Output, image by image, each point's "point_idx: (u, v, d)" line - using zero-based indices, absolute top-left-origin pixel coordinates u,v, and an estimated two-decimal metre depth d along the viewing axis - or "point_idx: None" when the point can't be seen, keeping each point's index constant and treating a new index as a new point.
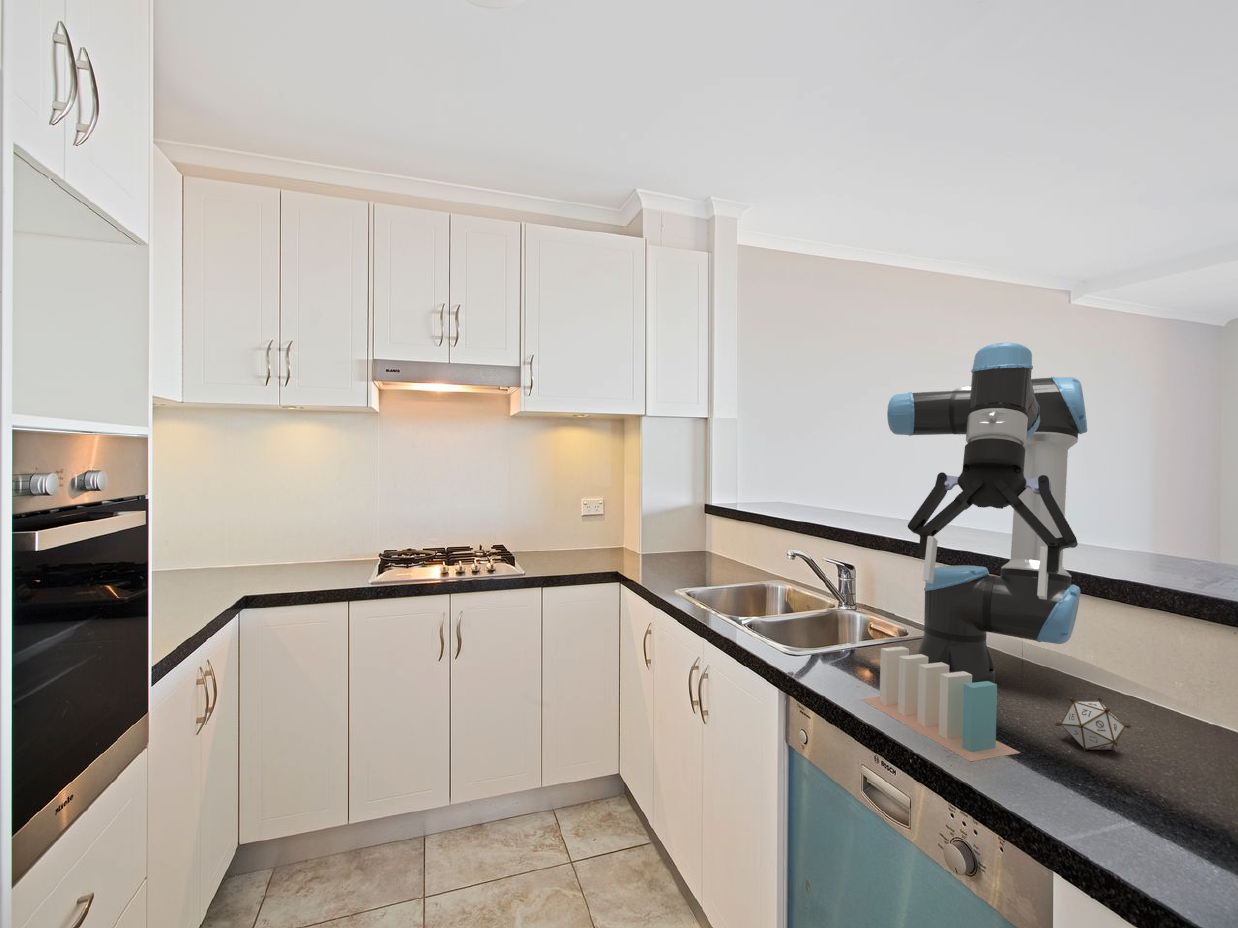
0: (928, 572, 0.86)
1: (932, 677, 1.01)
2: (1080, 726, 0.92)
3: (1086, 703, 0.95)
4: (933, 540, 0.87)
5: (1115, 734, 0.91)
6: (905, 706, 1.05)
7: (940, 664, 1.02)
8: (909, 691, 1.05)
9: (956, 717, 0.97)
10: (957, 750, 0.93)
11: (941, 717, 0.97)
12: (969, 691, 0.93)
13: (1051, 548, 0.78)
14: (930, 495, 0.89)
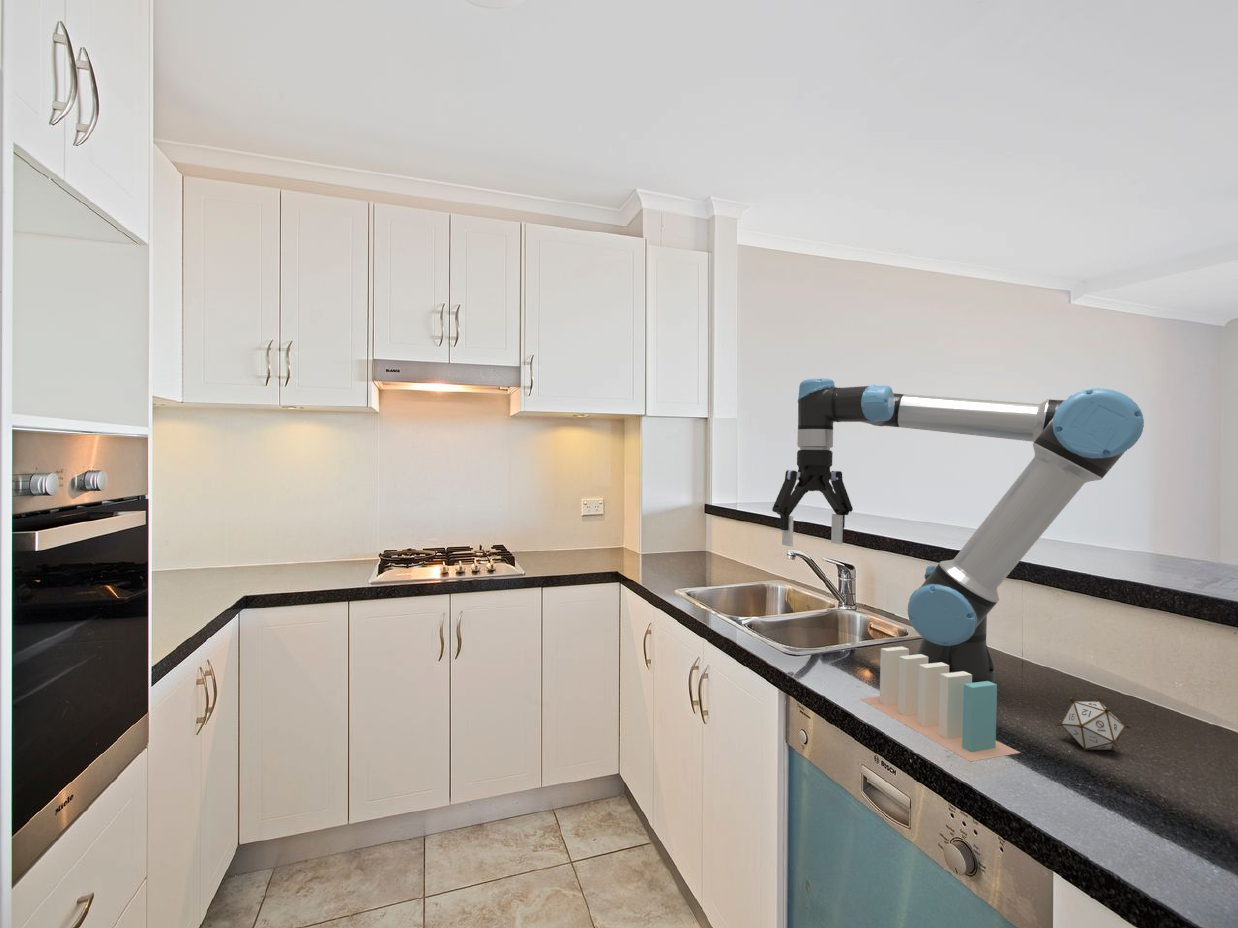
0: (831, 537, 1.37)
1: (932, 677, 1.01)
2: (1080, 726, 0.92)
3: (1086, 703, 0.95)
4: (833, 516, 1.36)
5: (1115, 734, 0.91)
6: (905, 706, 1.05)
7: (940, 664, 1.02)
8: (909, 691, 1.05)
9: (956, 717, 0.97)
10: (957, 750, 0.93)
11: (941, 717, 0.97)
12: (969, 691, 0.93)
13: None
14: None
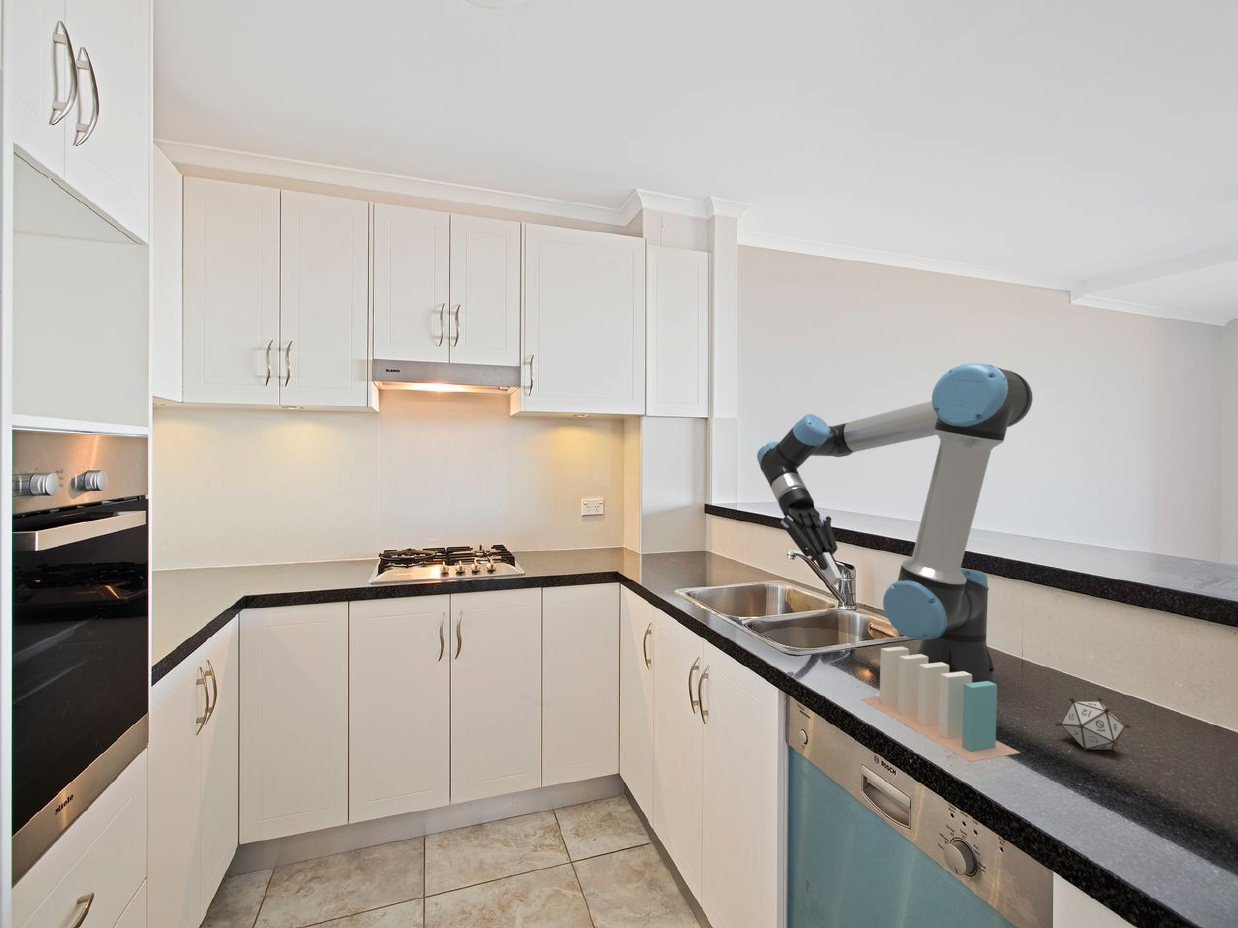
0: None
1: (932, 677, 1.01)
2: (1080, 726, 0.92)
3: (1086, 703, 0.95)
4: None
5: (1114, 734, 0.91)
6: (905, 706, 1.05)
7: (940, 664, 1.02)
8: (909, 691, 1.05)
9: (956, 717, 0.97)
10: (957, 750, 0.93)
11: (941, 717, 0.97)
12: (969, 691, 0.93)
13: None
14: None
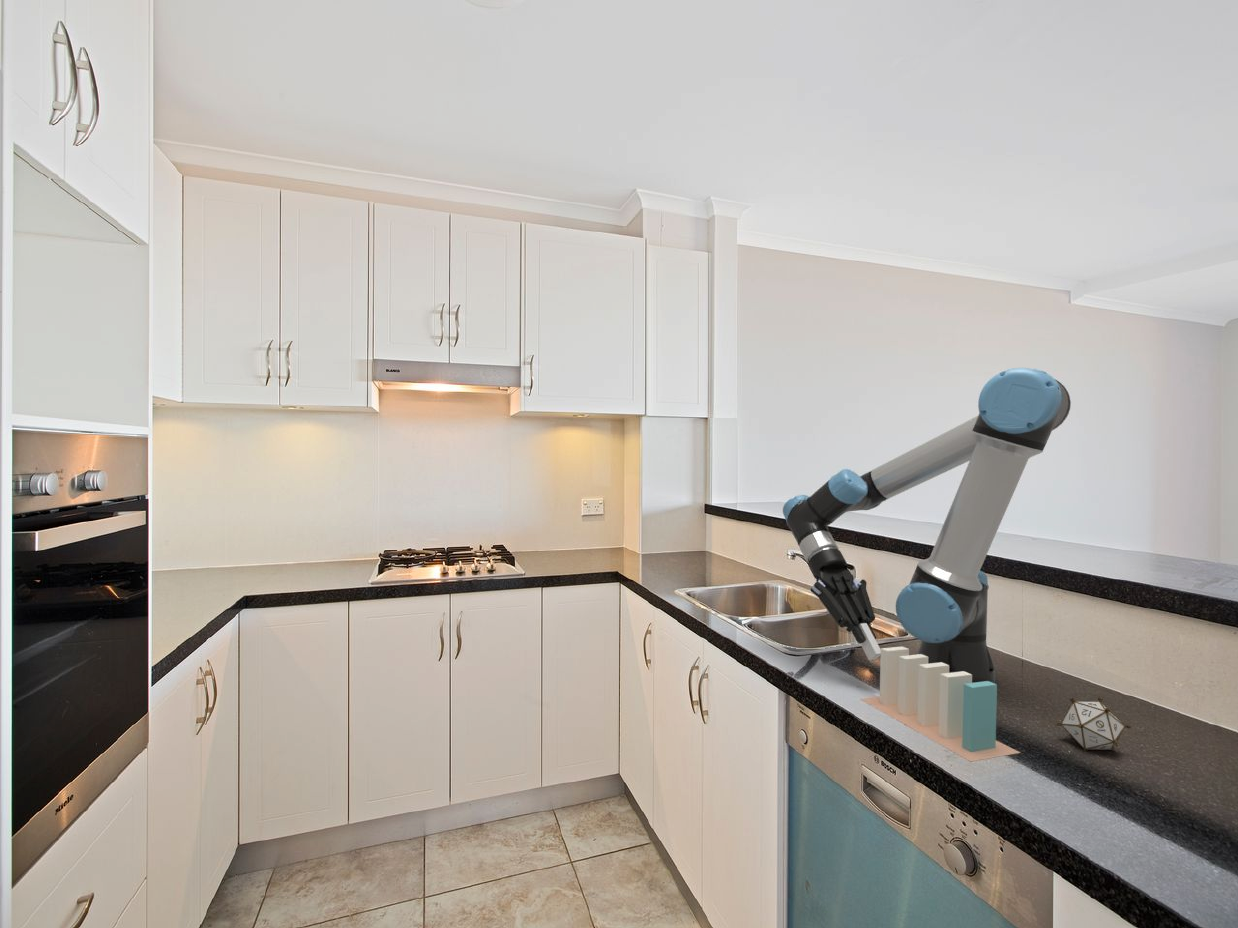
0: None
1: (932, 677, 1.01)
2: (1080, 726, 0.92)
3: (1086, 703, 0.95)
4: None
5: (1115, 734, 0.91)
6: (905, 706, 1.05)
7: (940, 664, 1.02)
8: (909, 691, 1.05)
9: (956, 717, 0.97)
10: (957, 750, 0.93)
11: (941, 717, 0.97)
12: (969, 691, 0.93)
13: None
14: None
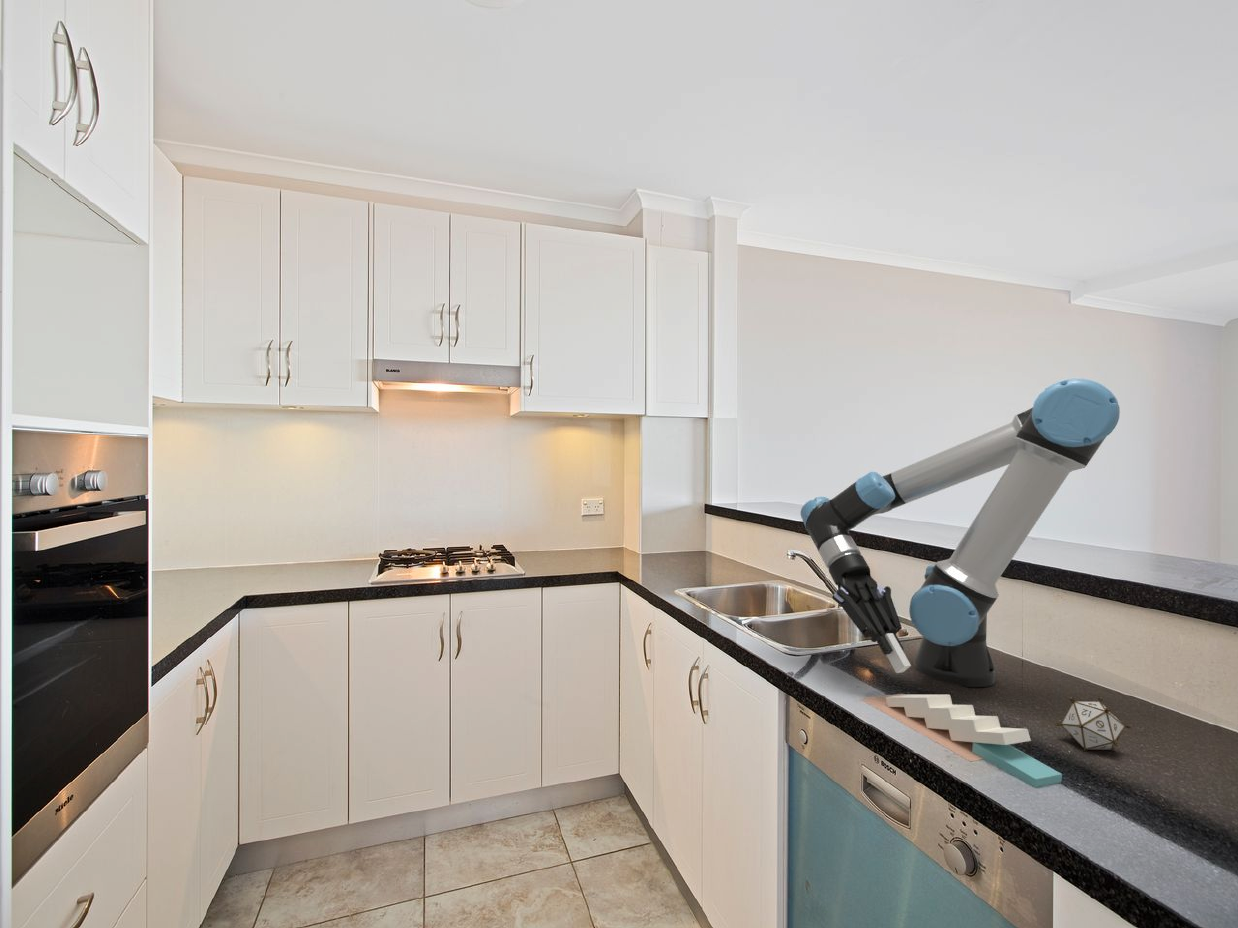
0: None
1: None
2: (1080, 726, 0.92)
3: (1086, 703, 0.95)
4: None
5: (1115, 734, 0.91)
6: (914, 716, 1.03)
7: (993, 722, 0.93)
8: None
9: None
10: (957, 750, 0.93)
11: (964, 733, 0.93)
12: (1029, 783, 0.83)
13: None
14: None
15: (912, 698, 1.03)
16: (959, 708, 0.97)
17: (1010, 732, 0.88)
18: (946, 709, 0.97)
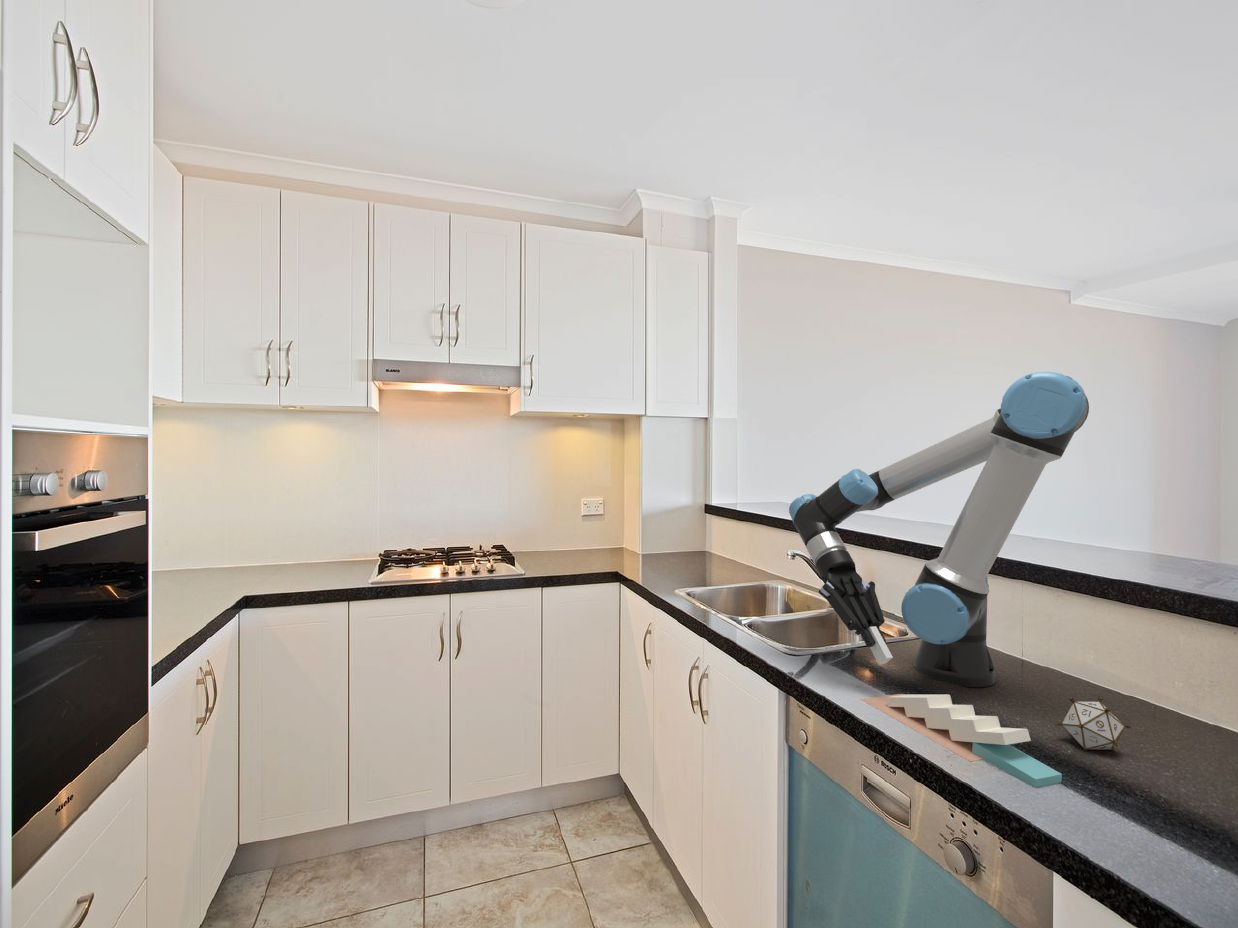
0: None
1: None
2: (1080, 726, 0.92)
3: (1086, 703, 0.95)
4: None
5: (1115, 734, 0.91)
6: (914, 716, 1.03)
7: (993, 722, 0.93)
8: None
9: None
10: (957, 750, 0.93)
11: (964, 733, 0.93)
12: (1029, 783, 0.83)
13: None
14: None
15: (912, 698, 1.03)
16: (959, 708, 0.97)
17: (1010, 732, 0.88)
18: (946, 709, 0.97)
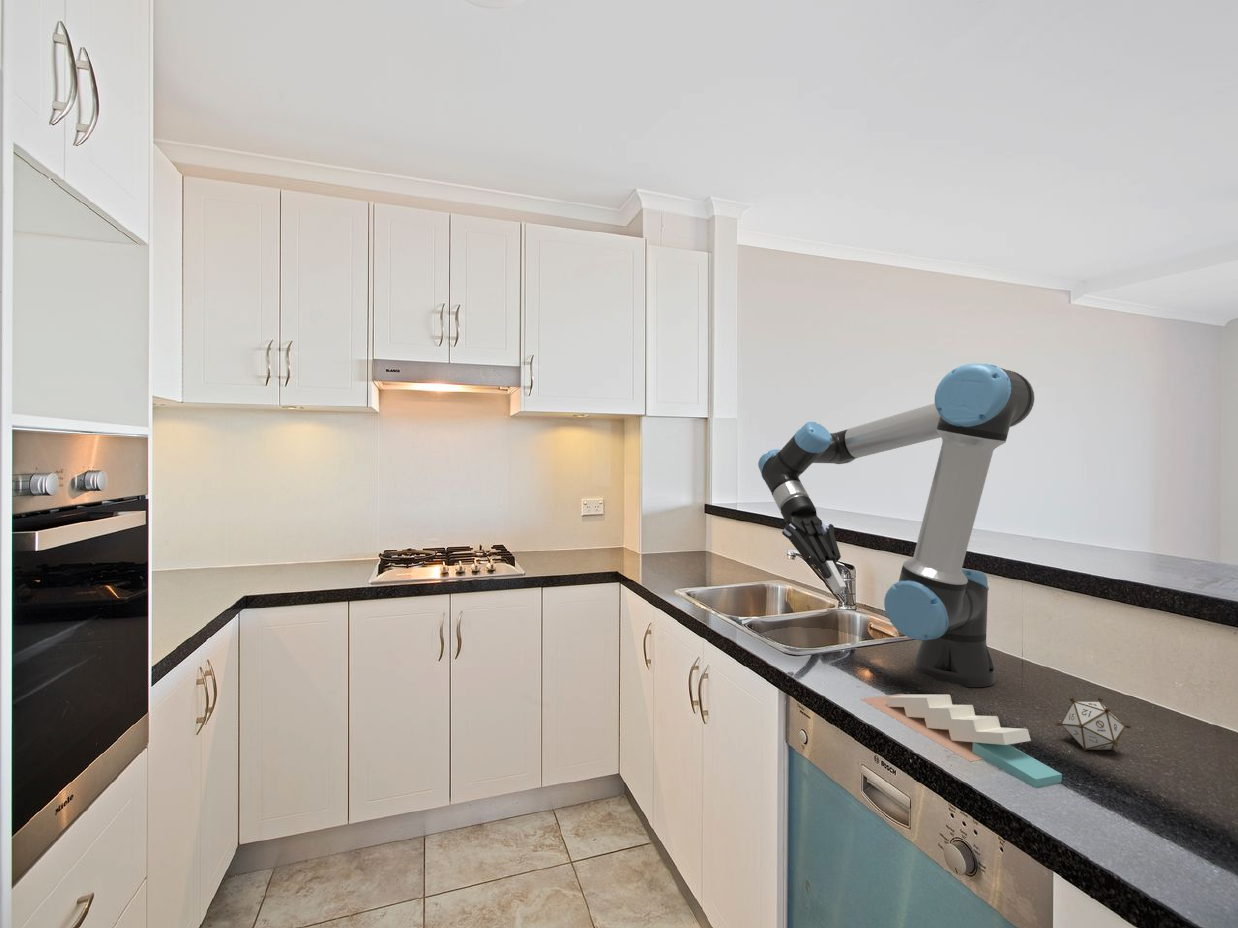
0: None
1: None
2: (1080, 726, 0.92)
3: (1086, 703, 0.95)
4: None
5: (1115, 734, 0.91)
6: (914, 716, 1.03)
7: (993, 722, 0.93)
8: None
9: None
10: (957, 750, 0.93)
11: (964, 733, 0.93)
12: (1029, 783, 0.83)
13: None
14: None
15: (912, 698, 1.03)
16: (959, 708, 0.97)
17: (1010, 732, 0.88)
18: (946, 709, 0.97)
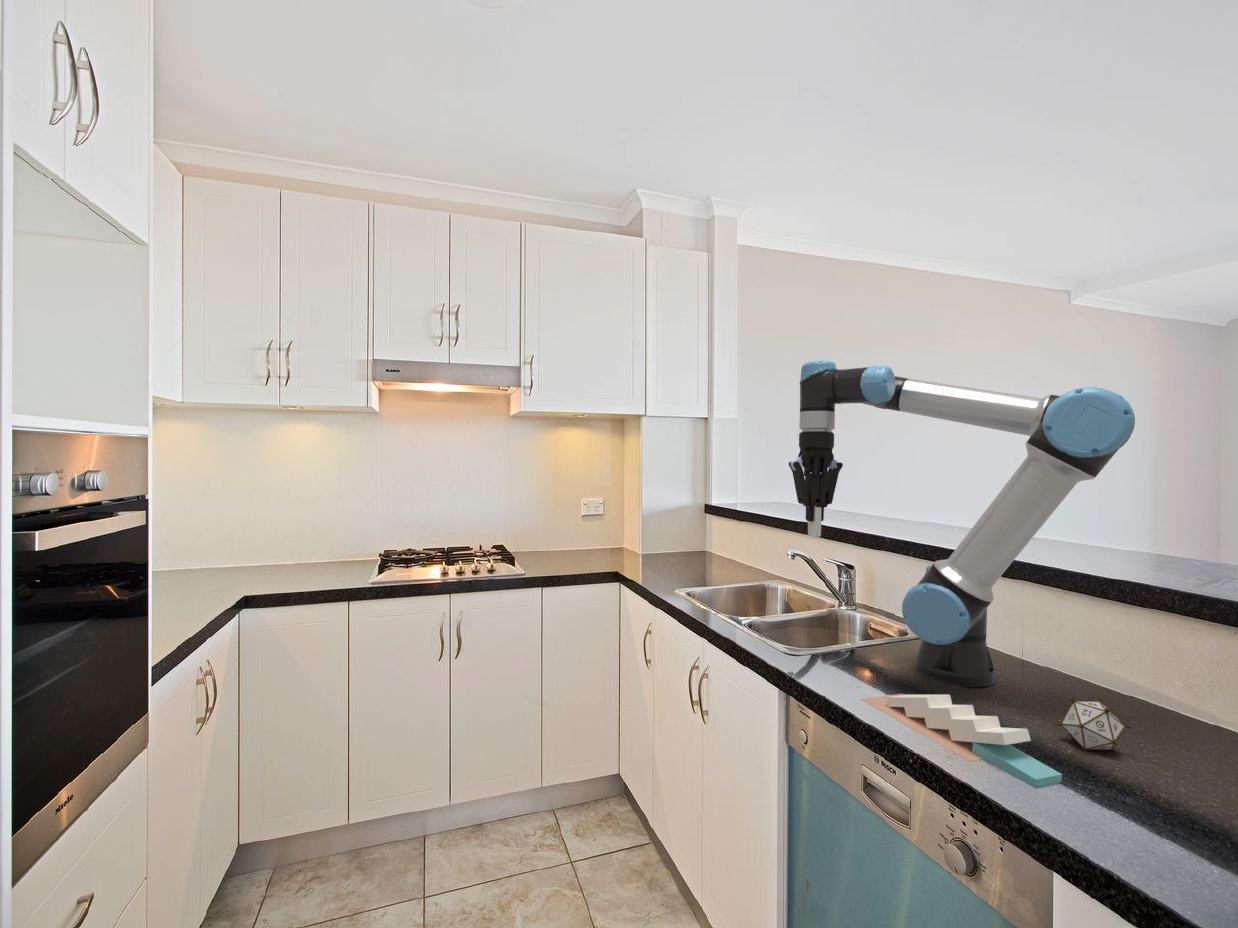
0: None
1: None
2: (1080, 726, 0.92)
3: (1086, 703, 0.95)
4: None
5: (1115, 734, 0.91)
6: (914, 716, 1.03)
7: (993, 722, 0.93)
8: None
9: None
10: (957, 750, 0.93)
11: (964, 733, 0.93)
12: (1029, 783, 0.83)
13: None
14: None
15: (912, 698, 1.03)
16: (959, 708, 0.97)
17: (1010, 732, 0.88)
18: (946, 709, 0.97)
